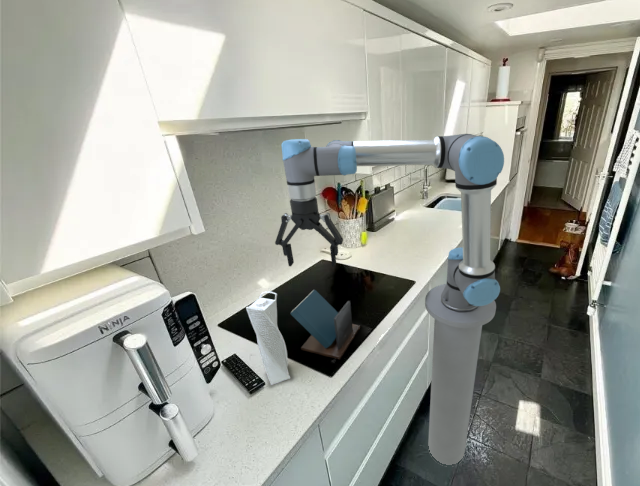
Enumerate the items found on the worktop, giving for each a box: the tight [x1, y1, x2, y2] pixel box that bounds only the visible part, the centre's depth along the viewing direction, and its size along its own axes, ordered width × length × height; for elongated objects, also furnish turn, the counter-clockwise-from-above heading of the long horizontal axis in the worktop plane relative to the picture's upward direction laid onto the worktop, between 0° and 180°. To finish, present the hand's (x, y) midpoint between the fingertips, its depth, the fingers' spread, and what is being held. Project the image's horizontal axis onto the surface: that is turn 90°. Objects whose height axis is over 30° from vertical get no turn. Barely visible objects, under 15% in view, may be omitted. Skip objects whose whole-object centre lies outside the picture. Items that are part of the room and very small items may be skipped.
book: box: [290, 289, 339, 348], centre depth 102 cm, size 3×12×16 cm
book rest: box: [300, 300, 361, 360], centre depth 101 cm, size 14×16×13 cm
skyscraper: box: [245, 290, 291, 386], centre depth 84 cm, size 8×8×28 cm
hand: (312, 264), depth 96 cm, fingers open, 13 cm apart
